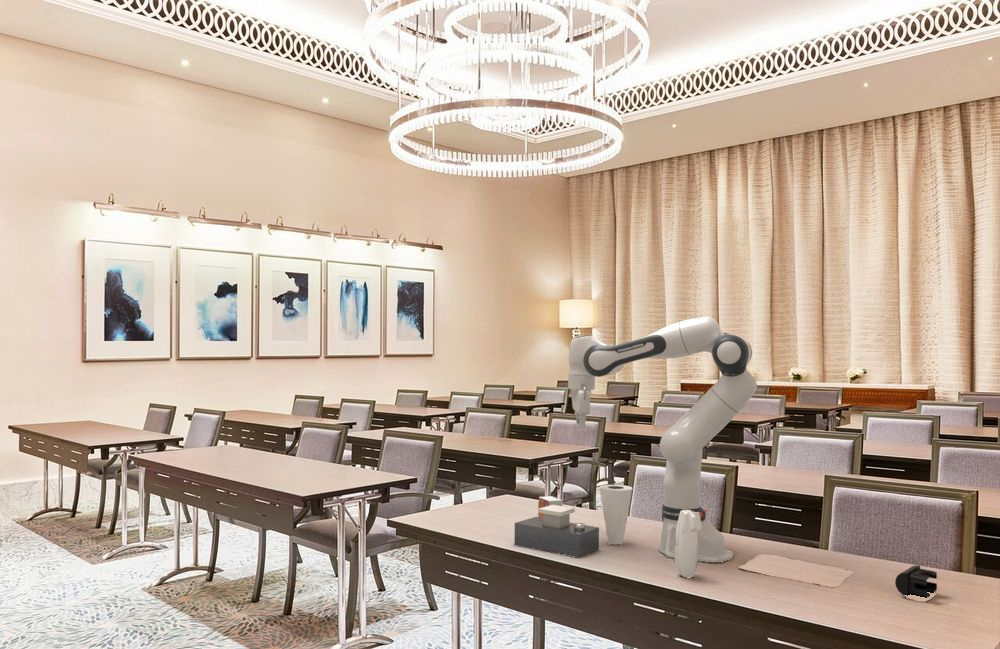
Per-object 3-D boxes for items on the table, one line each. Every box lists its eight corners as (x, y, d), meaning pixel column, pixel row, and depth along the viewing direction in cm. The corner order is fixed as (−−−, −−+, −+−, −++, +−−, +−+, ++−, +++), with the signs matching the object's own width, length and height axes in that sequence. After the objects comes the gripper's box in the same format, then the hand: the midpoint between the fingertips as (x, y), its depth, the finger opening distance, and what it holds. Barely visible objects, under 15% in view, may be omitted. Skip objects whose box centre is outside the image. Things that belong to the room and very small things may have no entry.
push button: (574, 530, 237) (574, 508, 237) (560, 535, 230) (560, 512, 231) (552, 526, 242) (552, 504, 242) (537, 531, 235) (538, 508, 236)
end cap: (907, 588, 198) (907, 562, 198) (937, 595, 193) (937, 568, 193) (894, 596, 191) (894, 570, 191) (925, 603, 186) (925, 576, 186)
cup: (622, 549, 235) (622, 491, 236) (593, 543, 241) (593, 487, 242) (637, 542, 243) (638, 487, 244) (609, 537, 250) (609, 483, 250)
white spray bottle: (705, 579, 204) (689, 571, 211) (705, 512, 205) (689, 507, 212) (685, 581, 202) (669, 573, 209) (685, 514, 203) (669, 508, 209)
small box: (537, 526, 265) (538, 496, 265) (551, 525, 267) (551, 495, 268) (548, 531, 257) (548, 500, 258) (562, 530, 260) (562, 499, 260)
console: (598, 549, 233) (599, 522, 234) (579, 557, 224) (579, 529, 224) (535, 537, 248) (535, 511, 248) (514, 544, 238) (514, 517, 239)
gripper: (595, 385, 237) (594, 429, 237) (587, 383, 258) (586, 423, 257) (575, 385, 237) (574, 428, 237) (569, 382, 258) (568, 422, 257)
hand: (580, 425), depth 247 cm, fingers open, 8 cm apart
